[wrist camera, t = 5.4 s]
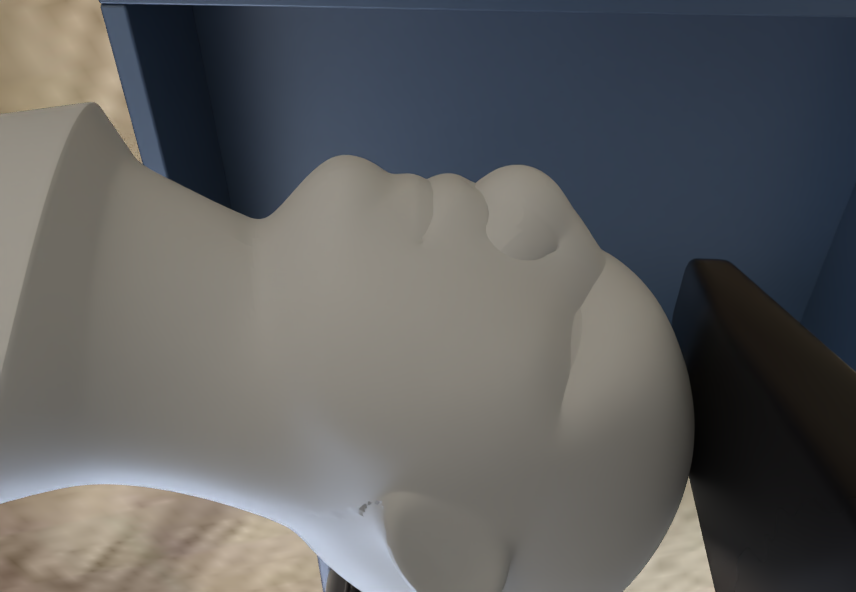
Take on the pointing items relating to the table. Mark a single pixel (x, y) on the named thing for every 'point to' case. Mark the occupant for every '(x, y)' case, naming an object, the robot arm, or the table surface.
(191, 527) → the table surface
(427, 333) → the smooth white sculpture
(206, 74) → the box
